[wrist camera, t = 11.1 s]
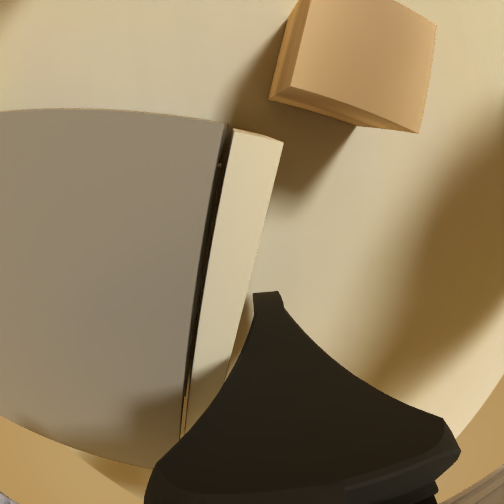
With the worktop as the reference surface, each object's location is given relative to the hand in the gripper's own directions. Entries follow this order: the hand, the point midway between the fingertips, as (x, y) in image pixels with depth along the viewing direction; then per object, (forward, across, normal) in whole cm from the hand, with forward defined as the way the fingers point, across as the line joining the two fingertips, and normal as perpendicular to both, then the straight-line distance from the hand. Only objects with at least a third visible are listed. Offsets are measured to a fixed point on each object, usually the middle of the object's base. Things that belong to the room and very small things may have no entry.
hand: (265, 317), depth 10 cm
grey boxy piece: (+1, +7, -2) cm, 7 cm away
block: (+1, -2, -8) cm, 8 cm away
